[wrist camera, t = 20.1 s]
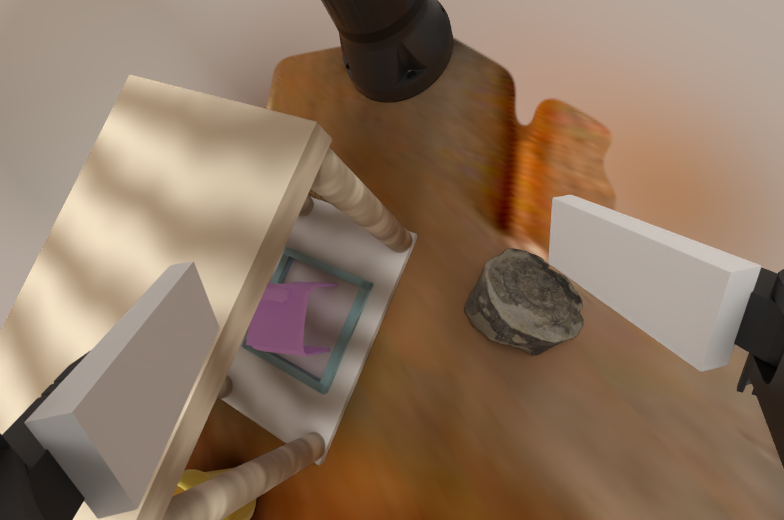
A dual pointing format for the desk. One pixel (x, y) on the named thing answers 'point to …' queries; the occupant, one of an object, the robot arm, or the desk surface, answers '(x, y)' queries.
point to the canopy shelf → (213, 276)
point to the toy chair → (283, 319)
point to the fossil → (524, 303)
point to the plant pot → (196, 477)
